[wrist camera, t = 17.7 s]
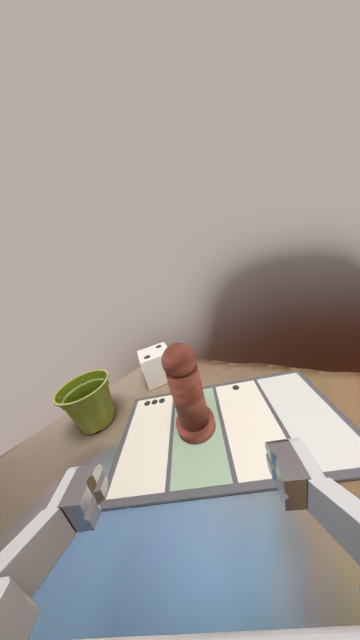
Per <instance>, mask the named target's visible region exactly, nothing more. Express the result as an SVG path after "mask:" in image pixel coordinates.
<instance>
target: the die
mask: <svg viewBox="0 0 360 640" xmlns="http://www.w3.org/2000/svg"><path fill="white" fill-rule="evenodd" d="M166 348H167V346H166V344H165V343H164V342H162V343H159V344H156V345H153V346H151V347H148V348H145V349H142V350H139V351H137V353H138V357H139V361H140V364H141V368H142V371H143V373H144V376H145V379H146V382H147V385H148V388H149V391H150V390H152V389H155V388H157V387H160V386H162V385H164V384H167V383H168V381H167V378H166V374H165V373H166V372H165V371H164V369H163V367H162V363H161V359H162V354H163V352H164V351H165V349H166Z"/></svg>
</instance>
